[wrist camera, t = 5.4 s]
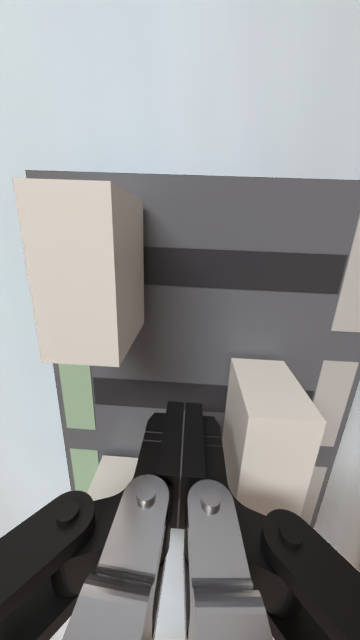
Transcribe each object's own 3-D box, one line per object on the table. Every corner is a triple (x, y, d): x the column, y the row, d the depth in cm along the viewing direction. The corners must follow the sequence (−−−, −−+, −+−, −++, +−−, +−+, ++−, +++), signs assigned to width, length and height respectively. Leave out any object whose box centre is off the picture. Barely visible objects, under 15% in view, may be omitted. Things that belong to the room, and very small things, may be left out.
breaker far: (145, 458, 14) (127, 541, 10) (146, 520, 16) (130, 611, 12) (102, 455, 14) (69, 536, 10) (107, 516, 16) (80, 606, 12)
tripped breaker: (283, 360, 12) (326, 422, 8) (267, 445, 13) (296, 530, 9) (231, 357, 12) (248, 417, 8) (221, 442, 13) (232, 524, 10)
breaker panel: (368, 193, 12) (422, 181, 9) (292, 493, 19) (310, 540, 16) (62, 184, 13) (24, 169, 10) (93, 477, 19) (75, 520, 16)
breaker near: (143, 201, 10) (110, 180, 6) (144, 322, 11) (119, 367, 8) (82, 199, 10) (12, 177, 6) (91, 320, 11) (41, 362, 8)
